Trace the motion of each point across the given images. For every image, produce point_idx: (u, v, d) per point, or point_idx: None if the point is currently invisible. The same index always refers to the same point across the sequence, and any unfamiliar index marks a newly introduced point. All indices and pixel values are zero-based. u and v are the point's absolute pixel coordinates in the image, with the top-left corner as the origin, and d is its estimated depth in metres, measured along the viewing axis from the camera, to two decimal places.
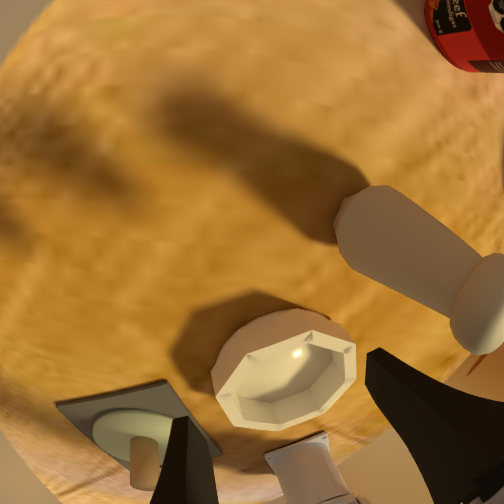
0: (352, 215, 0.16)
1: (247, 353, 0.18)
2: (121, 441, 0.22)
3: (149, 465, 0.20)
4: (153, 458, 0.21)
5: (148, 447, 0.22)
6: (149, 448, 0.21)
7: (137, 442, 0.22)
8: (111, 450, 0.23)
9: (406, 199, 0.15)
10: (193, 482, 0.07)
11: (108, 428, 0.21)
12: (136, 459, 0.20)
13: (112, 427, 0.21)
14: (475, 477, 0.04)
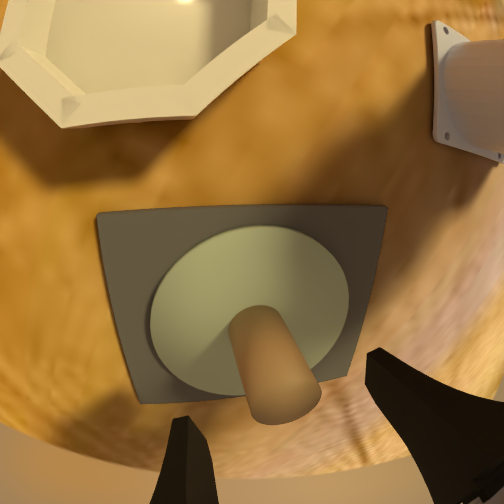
0: None
1: None
2: None
3: (254, 359, 0.11)
4: (256, 339, 0.12)
5: (243, 329, 0.13)
6: (244, 329, 0.13)
7: (231, 339, 0.14)
8: None
9: None
10: (193, 482, 0.07)
11: (188, 363, 0.15)
12: (238, 370, 0.12)
13: (188, 356, 0.14)
14: (475, 477, 0.04)
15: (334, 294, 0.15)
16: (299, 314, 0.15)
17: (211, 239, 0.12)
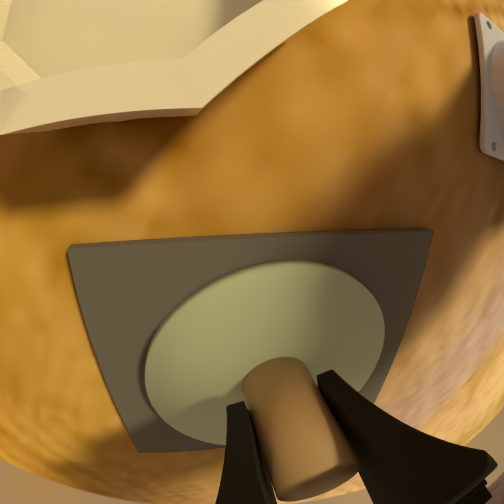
0: None
1: None
2: None
3: (280, 435, 0.08)
4: (281, 408, 0.09)
5: (262, 390, 0.10)
6: (264, 391, 0.10)
7: (246, 399, 0.10)
8: None
9: None
10: (259, 467, 0.07)
11: (193, 419, 0.11)
12: (258, 441, 0.09)
13: (193, 412, 0.11)
14: None
15: (369, 337, 0.12)
16: (327, 362, 0.12)
17: (222, 282, 0.09)
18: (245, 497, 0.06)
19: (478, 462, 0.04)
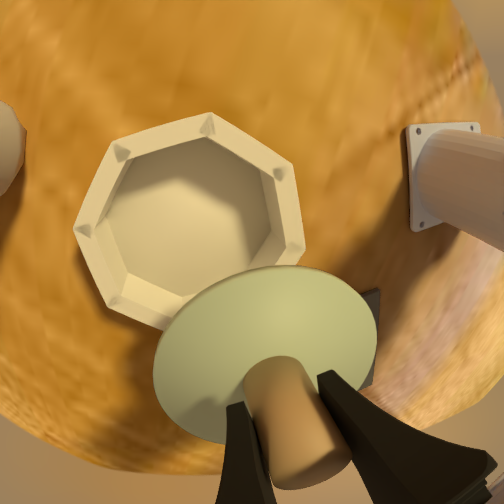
0: None
1: (107, 305, 0.14)
2: None
3: (273, 425, 0.09)
4: (275, 400, 0.10)
5: (259, 386, 0.11)
6: (260, 387, 0.10)
7: (246, 396, 0.11)
8: None
9: None
10: (259, 467, 0.07)
11: (200, 419, 0.12)
12: None
13: (200, 413, 0.12)
14: None
15: (360, 333, 0.12)
16: (322, 360, 0.12)
17: (214, 289, 0.10)
18: (245, 497, 0.06)
19: (478, 462, 0.04)
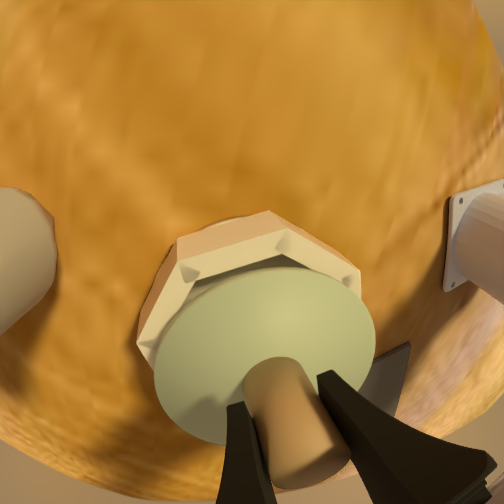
0: None
1: None
2: None
3: (272, 424, 0.09)
4: (273, 400, 0.10)
5: (258, 387, 0.11)
6: (259, 387, 0.11)
7: (246, 397, 0.11)
8: None
9: None
10: (259, 467, 0.07)
11: (202, 421, 0.12)
12: None
13: (201, 414, 0.12)
14: None
15: (359, 334, 0.13)
16: (321, 361, 0.13)
17: (212, 291, 0.11)
18: (245, 497, 0.06)
19: (478, 462, 0.04)
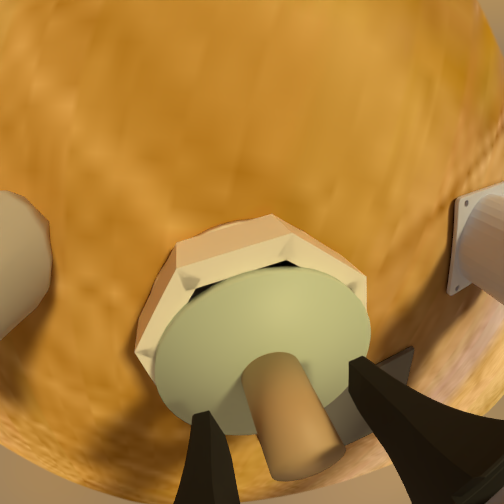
0: None
1: None
2: None
3: (271, 421, 0.09)
4: (272, 398, 0.10)
5: (257, 383, 0.11)
6: (258, 383, 0.11)
7: (244, 391, 0.12)
8: None
9: None
10: (217, 477, 0.07)
11: None
12: (255, 428, 0.10)
13: (200, 406, 0.13)
14: (453, 494, 0.04)
15: (355, 329, 0.13)
16: (317, 355, 0.13)
17: (213, 292, 0.11)
18: None
19: None
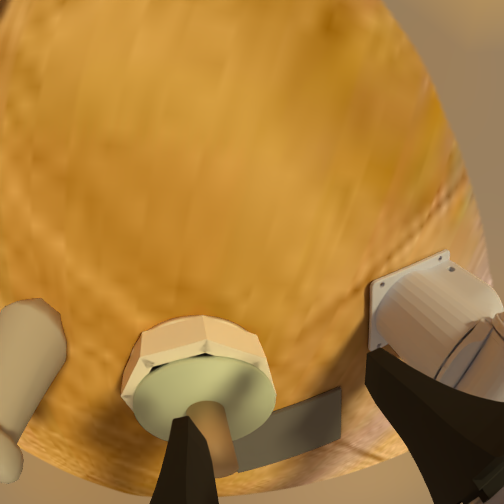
0: None
1: None
2: None
3: None
4: None
5: (192, 419, 0.17)
6: (192, 419, 0.17)
7: None
8: None
9: None
10: (193, 482, 0.07)
11: (164, 430, 0.19)
12: None
13: (163, 427, 0.19)
14: (475, 477, 0.04)
15: (260, 389, 0.19)
16: (235, 402, 0.19)
17: (161, 370, 0.17)
18: None
19: None
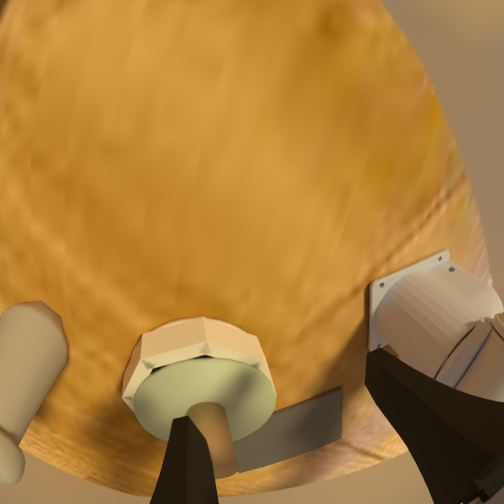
0: None
1: None
2: None
3: None
4: None
5: (192, 420, 0.17)
6: (193, 420, 0.17)
7: None
8: None
9: None
10: (193, 482, 0.07)
11: (165, 431, 0.19)
12: None
13: (164, 428, 0.19)
14: (475, 477, 0.04)
15: (260, 390, 0.19)
16: (236, 403, 0.19)
17: (161, 372, 0.17)
18: None
19: None
